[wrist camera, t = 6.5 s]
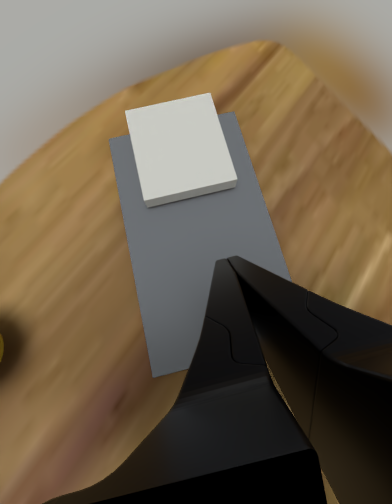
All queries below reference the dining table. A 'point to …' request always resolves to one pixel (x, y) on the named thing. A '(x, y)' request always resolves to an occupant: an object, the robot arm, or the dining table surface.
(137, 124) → the tile
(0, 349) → the lemon
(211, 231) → the mat
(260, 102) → the dining table surface
